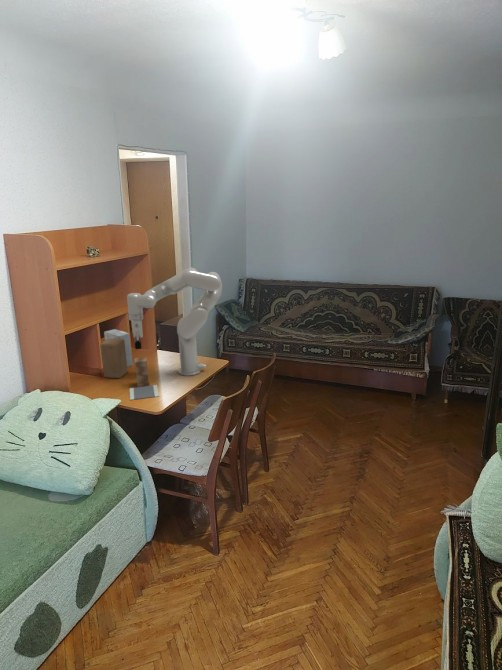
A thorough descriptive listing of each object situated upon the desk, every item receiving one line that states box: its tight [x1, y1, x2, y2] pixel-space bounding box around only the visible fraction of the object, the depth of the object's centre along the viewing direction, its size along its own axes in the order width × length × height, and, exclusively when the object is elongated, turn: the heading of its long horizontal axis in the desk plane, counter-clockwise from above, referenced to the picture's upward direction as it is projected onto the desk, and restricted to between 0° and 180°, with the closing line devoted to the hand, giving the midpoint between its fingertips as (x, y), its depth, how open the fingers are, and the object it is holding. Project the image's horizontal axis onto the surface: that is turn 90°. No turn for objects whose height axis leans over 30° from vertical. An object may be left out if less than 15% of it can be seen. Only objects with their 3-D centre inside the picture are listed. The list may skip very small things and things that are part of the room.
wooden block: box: [99, 339, 129, 379], centre depth 253 cm, size 10×10×20 cm
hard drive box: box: [103, 328, 133, 368], centre depth 268 cm, size 16×8×20 cm, turn 49°
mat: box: [129, 384, 160, 401], centre depth 232 cm, size 14×14×1 cm
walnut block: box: [134, 356, 150, 387], centre depth 240 cm, size 6×6×14 cm
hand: (138, 348), depth 251 cm, fingers closed
